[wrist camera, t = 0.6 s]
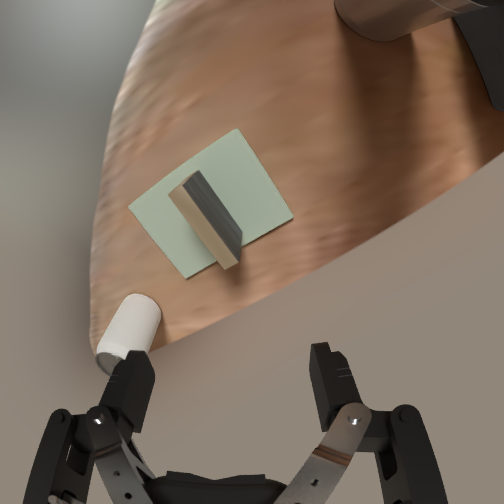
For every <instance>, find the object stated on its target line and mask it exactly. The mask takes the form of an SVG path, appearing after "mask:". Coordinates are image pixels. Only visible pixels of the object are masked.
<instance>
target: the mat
mask: <svg viewBox="0 0 504 504" xmlns="http://www.w3.org/2000/svg"><path fill="white" fill-rule="evenodd" d="M196 170H199V171H200V172H201V173H202V175H203V176H204V178H205V179H206V181H207V182H208V183H209V185H210V186H211V188H212V189H213V191H214V192H215V193H216V195H217V196H218V198H219V199H220V200H221V202H222V203H223V205H224V206H225V208H226V209H227V210H228V212H229V213H230V215H231V216H232V218H233V219H234V220H235V222H236V223H237V225H238V226H239V228H240V229H241V230H242V242H241V247H242V246H244V245H246V244H247V243H249V242H251V241H253V240H254V239H256V238H258V237H260V236H261V235H263V234H265V233H267V232H269V231H270V230H272V229H274V228H276V227H277V226H279V225H281V224H283V223H284V222H286V221H288V220H290V219H292V218H293V217H294V216H293V214H292V212H291V211H290V209H289V207H288V206H287V204H286V202H285V201H284V199H283V198H282V196H281V194H280V193H279V191H278V189H277V188H276V186H275V185H274V183H273V181H272V180H271V178H270V177H269V175H268V173H267V172H266V170H265V169H264V167H263V166H262V164H261V163H260V161H259V159H258V158H257V156H256V155H255V153H254V152H253V150H252V149H251V147H250V146H249V144H248V143H247V141H246V140H245V138H244V137H243V135H242V134H241V132H240V131H239V129H238V128H236V129H234V130H232V131H231V132H229V133H228V134H226V135H225V136H223V137H221V138H220V139H218V140H217V141H215V142H214V143H212V144H211V145H209V146H208V147H206V148H205V149H203V150H202V151H200V152H199V153H198V154H196V155H195V156H193V157H192V158H190V159H189V160H188V161H186V162H185V163H183V164H182V165H181V166H179V167H178V168H177V169H175V170H174V171H172V172H171V173H170V174H168V175H167V176H166V177H165V178H163V179H162V180H161V181H159V182H158V183H157V184H155V185H154V186H153V187H152V188H150V189H149V190H148V191H147V192H145V193H144V194H143V195H142V196H140V197H139V198H138V199H137V200H135V201H134V202H133V203H132V204H131V205H129V206H128V207H129V209H130V210H131V211H132V213H133V214H134V215H135V217H136V218H137V219H138V220H139V222H140V223H141V224H142V226H143V227H144V228H145V230H146V231H147V232H148V233H149V235H150V236H151V237H152V238H153V240H154V241H155V242H156V243H157V245H158V246H159V247H160V248H161V250H162V251H163V252H164V253H165V255H166V256H167V257H168V258H169V260H170V261H171V262H172V263H173V264H174V266H175V267H176V268H177V269H178V270H179V272H180V273H181V274H182V275H183V276H184V277H185V279H186V278H188V277H190V276H191V275H193V274H195V273H197V272H198V271H200V270H202V269H204V268H205V267H207V266H209V265H211V264H212V263H214V262H216V261H217V260H216V258H215V257H214V256H213V254H212V253H211V252H210V251H209V249H208V248H207V247H206V245H205V244H204V243H203V241H202V240H201V239H200V238H199V236H198V235H197V234H196V232H195V231H194V230H193V228H192V227H191V226H190V224H189V223H188V222H187V220H186V219H185V218H184V216H183V215H182V214H181V212H180V211H179V210H178V208H177V207H176V206H175V204H174V203H173V202H172V200H171V199H170V198H169V196H168V194H169V193H170V192H171V191H172V190H173V189H174V188H175V187H176V186H177V185H178V184H180V183H181V182H182V181H183V180H184V179H185V178H186V177H188V176H189V175H191V174H192V173H193V172H195V171H196Z"/></svg>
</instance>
